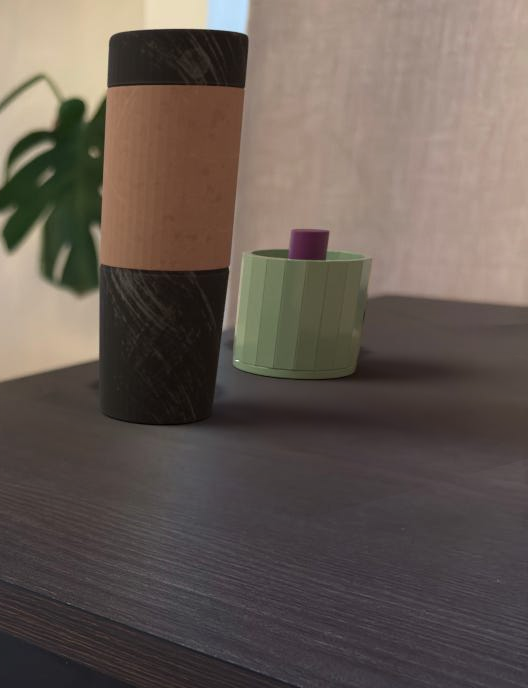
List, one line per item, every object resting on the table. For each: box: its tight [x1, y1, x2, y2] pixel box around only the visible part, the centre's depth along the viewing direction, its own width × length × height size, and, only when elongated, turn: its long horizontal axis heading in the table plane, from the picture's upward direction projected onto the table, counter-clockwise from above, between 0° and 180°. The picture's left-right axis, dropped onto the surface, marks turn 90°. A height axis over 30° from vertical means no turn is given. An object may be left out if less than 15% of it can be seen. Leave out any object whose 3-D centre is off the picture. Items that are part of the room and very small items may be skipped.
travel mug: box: [98, 28, 250, 425], centre depth 55 cm, size 8×8×20 cm
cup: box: [232, 247, 375, 380], centre depth 70 cm, size 9×9×8 cm
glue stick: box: [288, 228, 331, 260], centre depth 70 cm, size 3×3×9 cm
